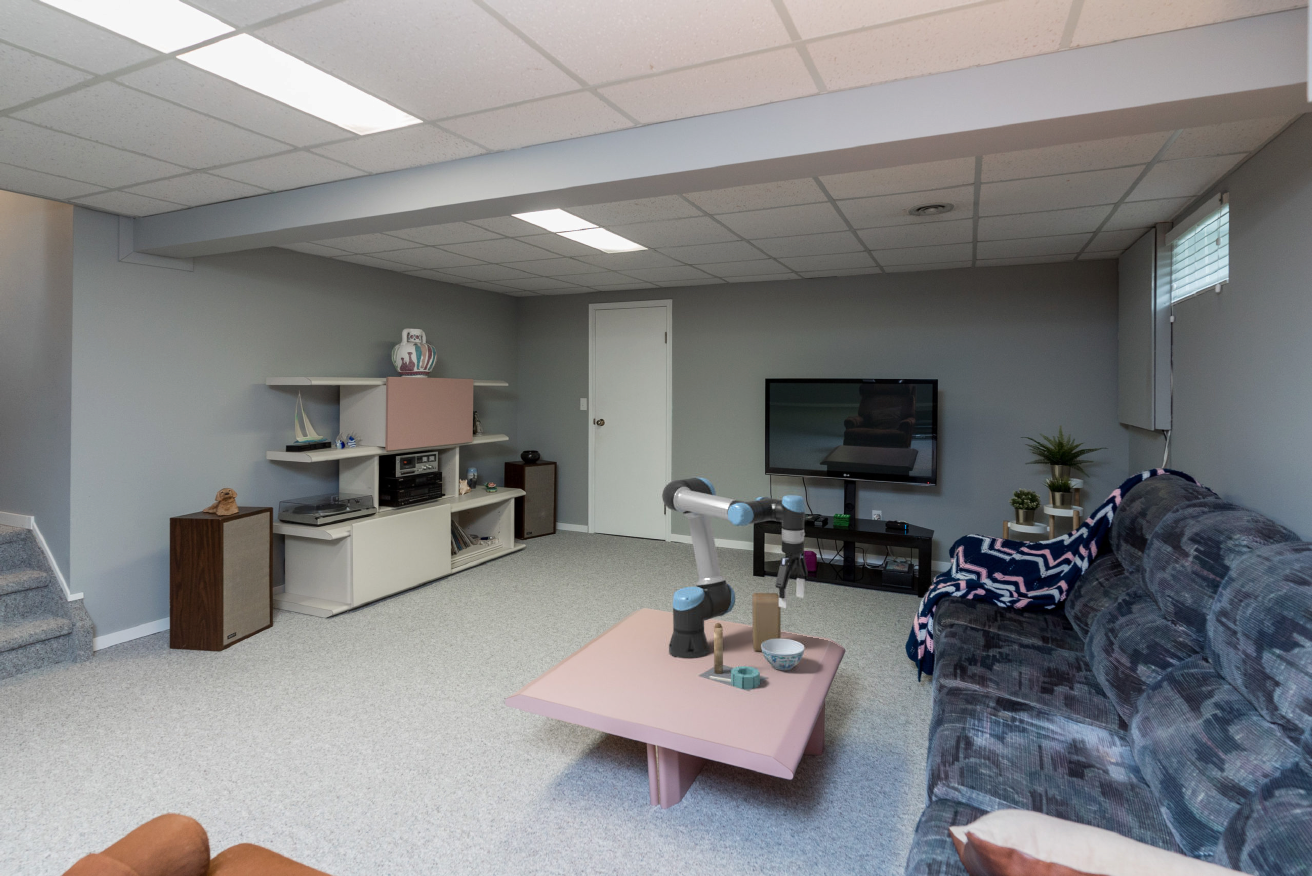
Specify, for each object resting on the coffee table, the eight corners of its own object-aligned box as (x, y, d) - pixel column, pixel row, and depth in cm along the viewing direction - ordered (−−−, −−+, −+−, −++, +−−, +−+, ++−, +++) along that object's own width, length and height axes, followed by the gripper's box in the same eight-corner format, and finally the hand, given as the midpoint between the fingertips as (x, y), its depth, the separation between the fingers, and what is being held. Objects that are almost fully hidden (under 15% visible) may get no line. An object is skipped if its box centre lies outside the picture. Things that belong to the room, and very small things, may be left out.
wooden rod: (712, 672, 236) (712, 623, 235) (717, 669, 239) (717, 620, 237) (719, 674, 234) (719, 625, 233) (724, 672, 237) (724, 622, 236)
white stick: (709, 678, 232) (709, 676, 232) (710, 677, 232) (710, 675, 232) (732, 681, 228) (732, 680, 228) (732, 681, 229) (732, 679, 229)
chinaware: (802, 678, 232) (802, 656, 231) (758, 673, 236) (758, 651, 236) (806, 661, 246) (806, 640, 245) (764, 657, 250) (764, 636, 250)
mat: (698, 676, 234) (698, 675, 234) (719, 664, 244) (719, 663, 244) (748, 692, 221) (748, 690, 221) (768, 678, 231) (768, 677, 231)
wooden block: (778, 643, 264) (778, 592, 263) (780, 653, 254) (780, 600, 253) (752, 642, 265) (752, 591, 264) (753, 652, 255) (753, 599, 254)
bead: (726, 684, 227) (726, 672, 226) (741, 675, 234) (740, 663, 233) (750, 691, 221) (749, 679, 221) (764, 682, 228) (764, 670, 228)
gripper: (786, 549, 221) (785, 613, 223) (818, 536, 241) (817, 594, 243) (765, 546, 226) (764, 609, 228) (798, 533, 246) (797, 591, 247)
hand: (791, 601), depth 235 cm, fingers open, 13 cm apart
